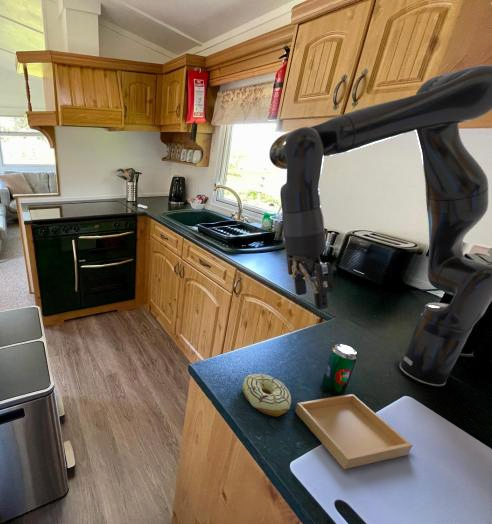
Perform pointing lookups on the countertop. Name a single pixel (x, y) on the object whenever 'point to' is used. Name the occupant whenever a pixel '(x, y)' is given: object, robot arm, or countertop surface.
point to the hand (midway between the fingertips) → (310, 300)
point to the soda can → (339, 369)
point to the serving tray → (352, 430)
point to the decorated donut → (267, 394)
